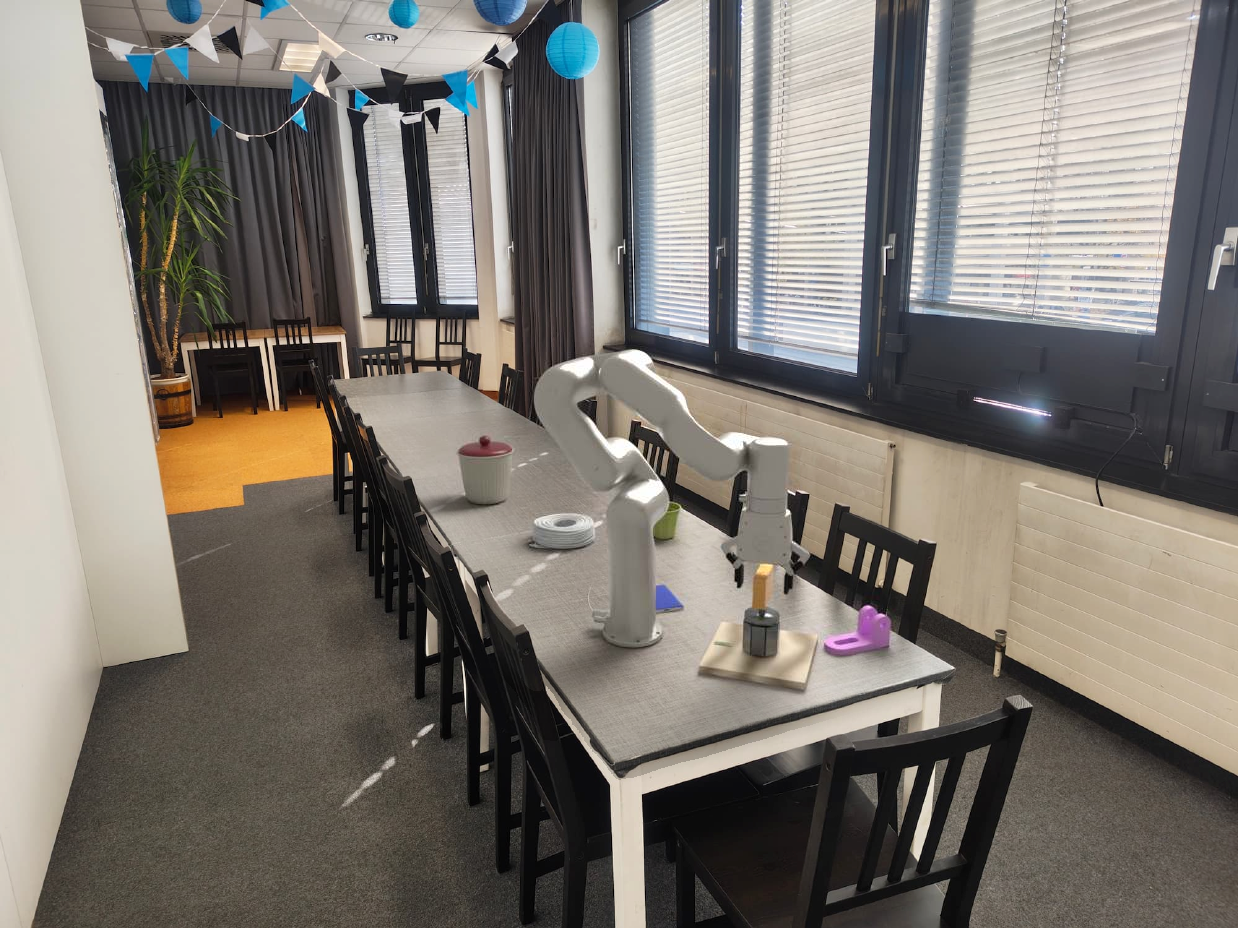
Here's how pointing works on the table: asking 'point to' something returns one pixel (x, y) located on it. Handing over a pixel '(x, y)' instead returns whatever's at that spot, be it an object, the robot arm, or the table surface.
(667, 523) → the plant pot
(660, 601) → the hard drive
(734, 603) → the table surface
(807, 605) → the table surface
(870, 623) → the bracket
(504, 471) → the canister
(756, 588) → the motor
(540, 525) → the cable
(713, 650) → the post plate
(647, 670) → the table surface
